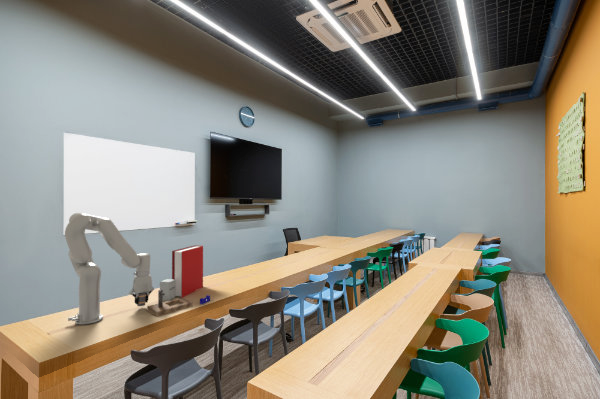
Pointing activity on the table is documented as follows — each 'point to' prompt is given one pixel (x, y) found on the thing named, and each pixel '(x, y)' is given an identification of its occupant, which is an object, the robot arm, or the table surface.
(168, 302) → the brown base with post
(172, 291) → the supplement box
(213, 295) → the table surface
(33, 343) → the table surface
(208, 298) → the cable holder
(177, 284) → the book
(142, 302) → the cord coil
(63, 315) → the table surface
